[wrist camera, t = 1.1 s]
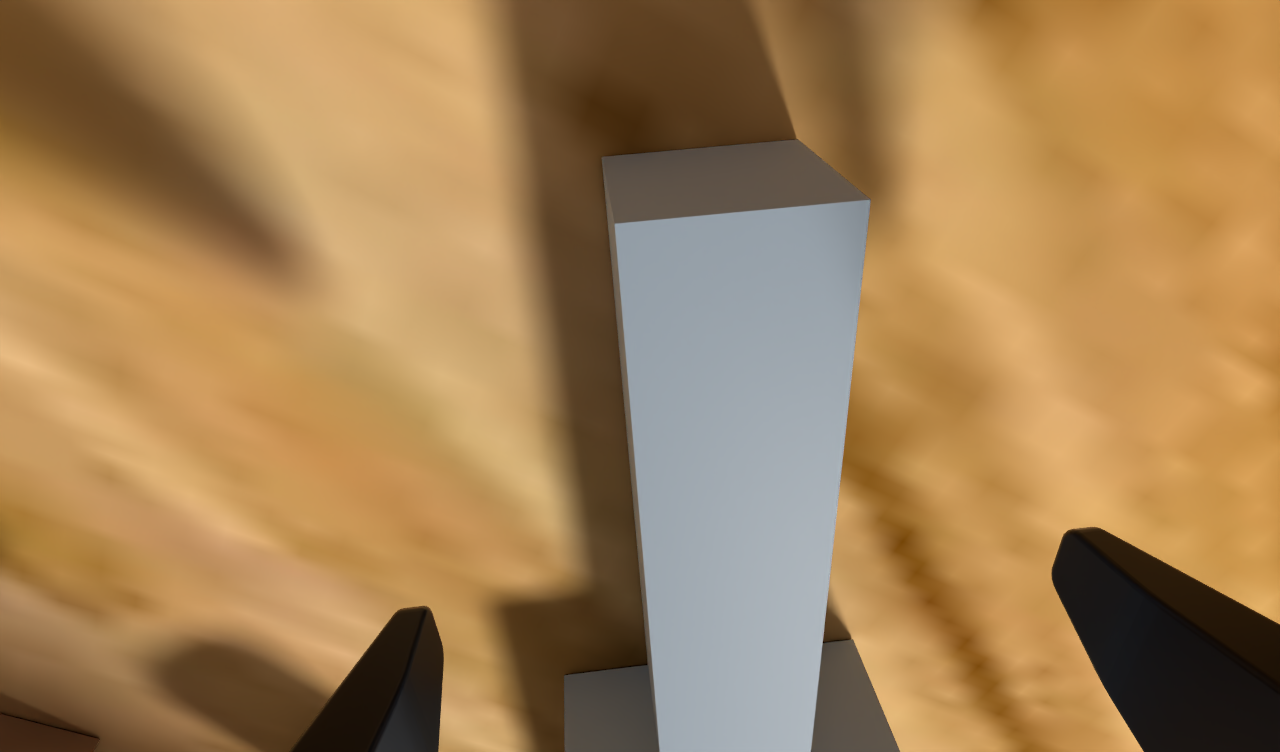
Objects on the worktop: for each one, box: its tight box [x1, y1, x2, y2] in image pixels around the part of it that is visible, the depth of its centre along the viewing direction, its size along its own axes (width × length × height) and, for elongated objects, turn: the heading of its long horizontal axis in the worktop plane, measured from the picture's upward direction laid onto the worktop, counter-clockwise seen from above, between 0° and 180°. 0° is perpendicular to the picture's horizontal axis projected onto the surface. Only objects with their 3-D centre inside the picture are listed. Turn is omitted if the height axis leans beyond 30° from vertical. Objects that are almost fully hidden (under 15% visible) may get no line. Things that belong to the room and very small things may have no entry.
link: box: [564, 139, 900, 752], centre depth 14 cm, size 19×7×3 cm, turn 4°
